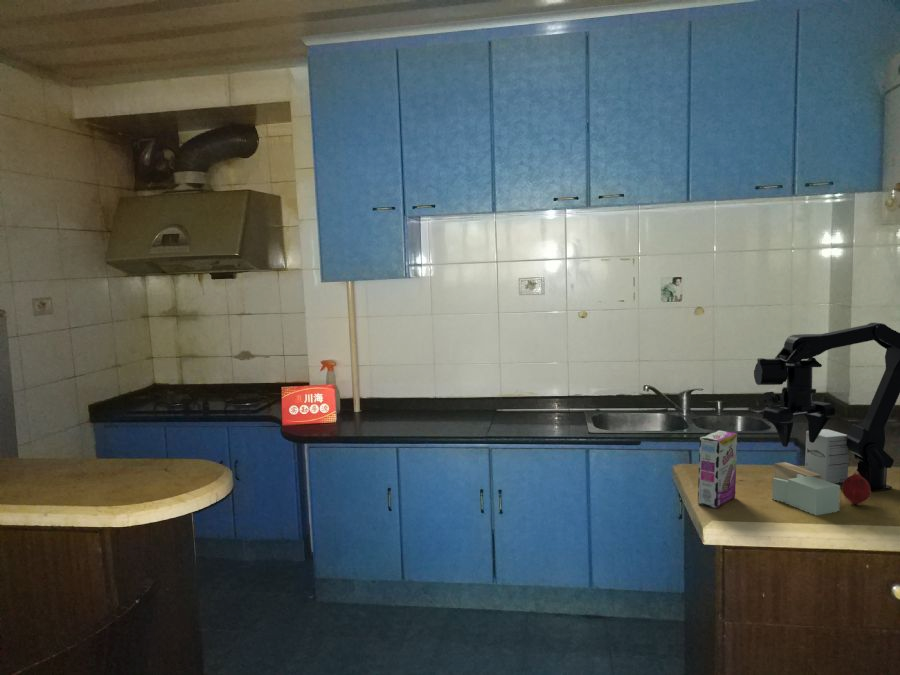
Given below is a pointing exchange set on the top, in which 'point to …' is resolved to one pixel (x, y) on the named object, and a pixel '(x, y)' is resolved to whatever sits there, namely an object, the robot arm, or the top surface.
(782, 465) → the oak slat
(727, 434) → the candy bar box
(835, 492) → the forked bracket
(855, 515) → the top surface
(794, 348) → the robot arm
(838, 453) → the supplement box
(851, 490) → the onion
